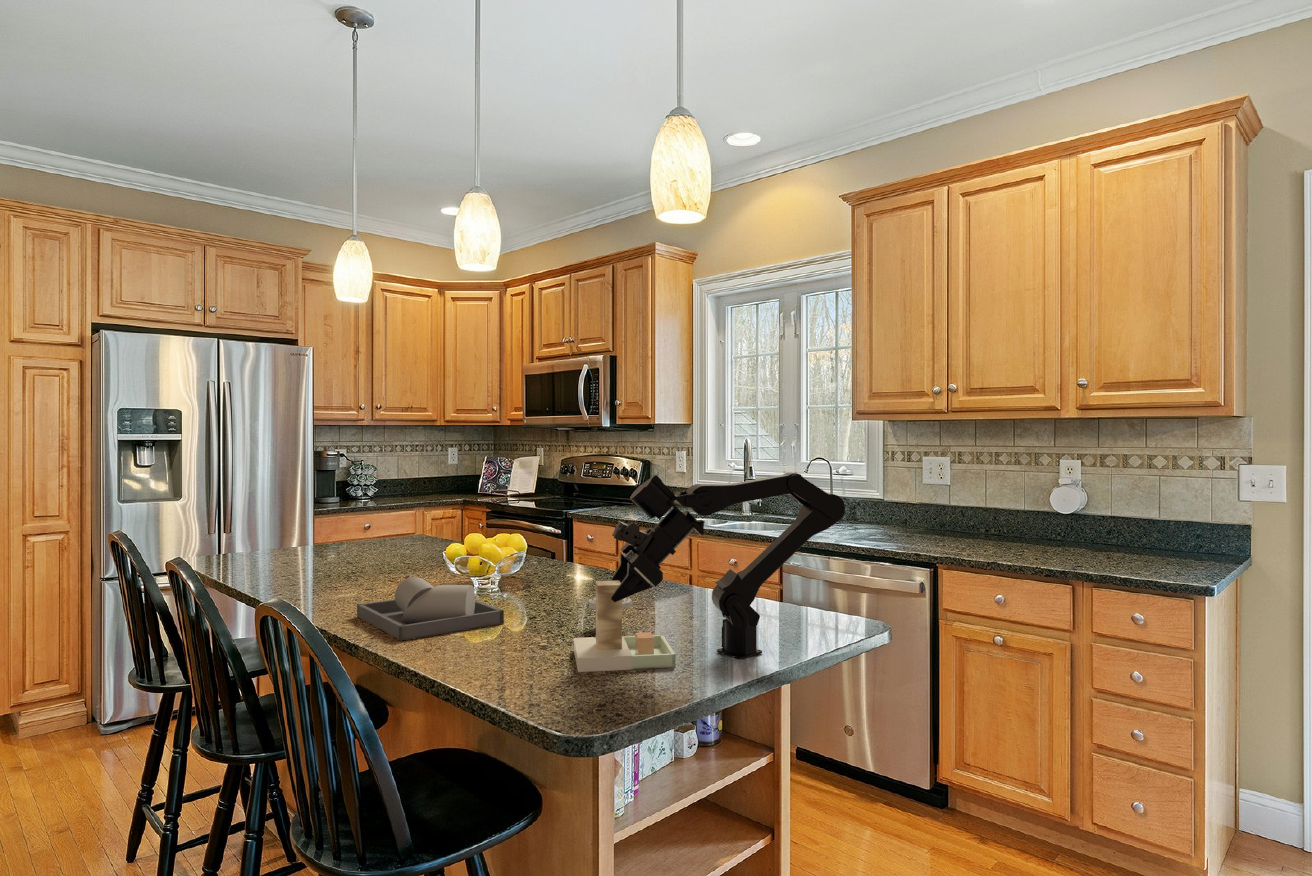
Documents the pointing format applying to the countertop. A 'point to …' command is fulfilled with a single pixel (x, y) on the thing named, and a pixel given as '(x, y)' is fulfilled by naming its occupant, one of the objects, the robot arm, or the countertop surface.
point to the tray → (659, 659)
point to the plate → (600, 656)
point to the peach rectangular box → (644, 643)
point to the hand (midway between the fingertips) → (610, 595)
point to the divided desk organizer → (390, 615)
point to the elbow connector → (433, 600)
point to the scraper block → (608, 616)
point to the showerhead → (625, 603)
